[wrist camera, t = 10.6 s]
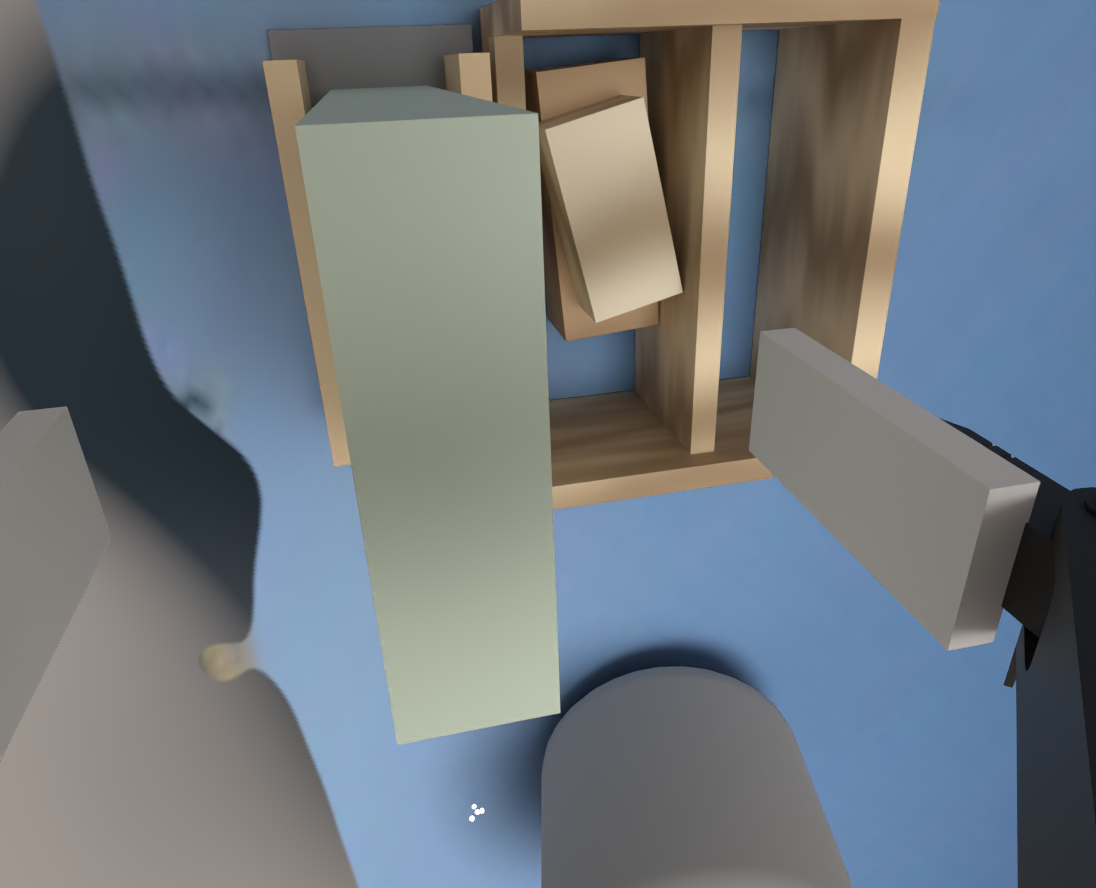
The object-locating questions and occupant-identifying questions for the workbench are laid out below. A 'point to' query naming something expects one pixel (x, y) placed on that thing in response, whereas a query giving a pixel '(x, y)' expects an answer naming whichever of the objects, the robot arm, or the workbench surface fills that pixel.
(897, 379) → the workbench surface
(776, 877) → the jar
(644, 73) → the offcut low
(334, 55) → the holder
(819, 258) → the rack
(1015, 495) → the robot arm
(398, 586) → the pale green block
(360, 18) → the workbench surface
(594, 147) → the offcut top
